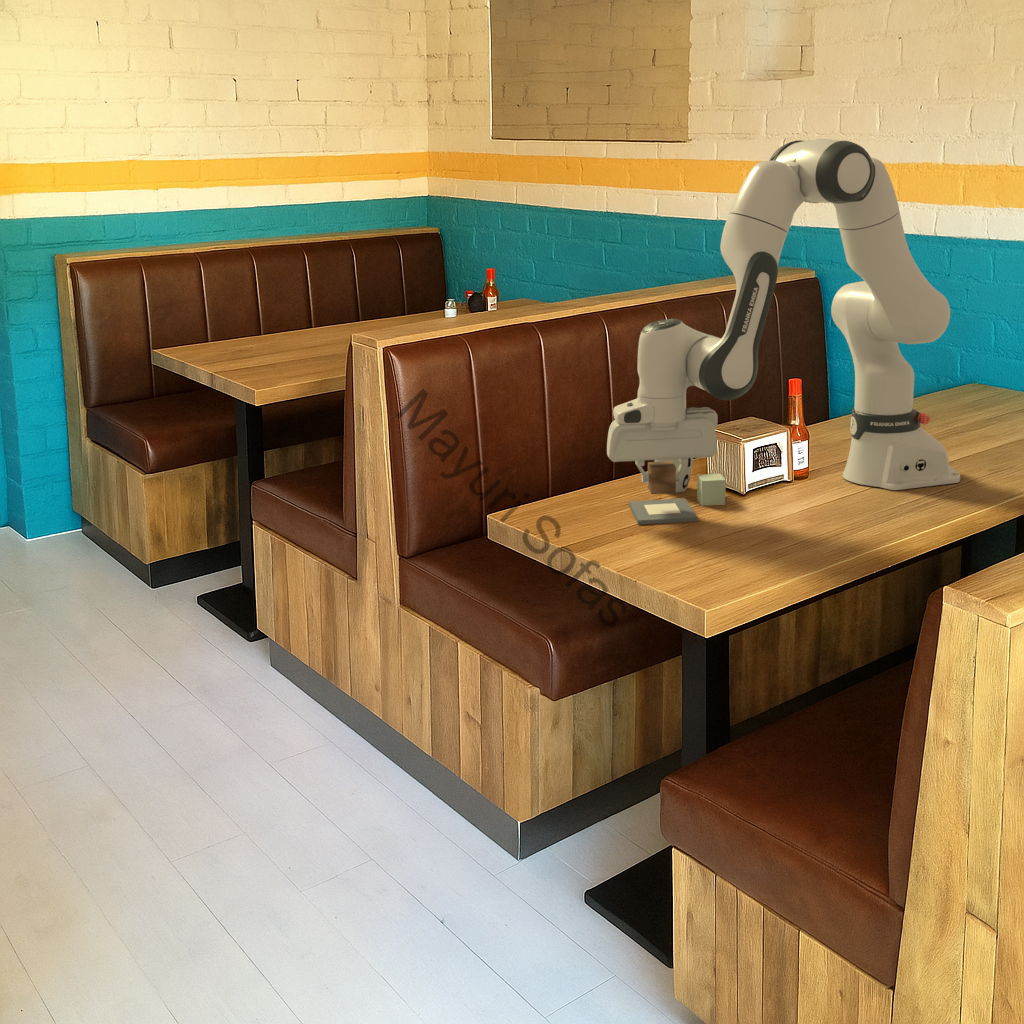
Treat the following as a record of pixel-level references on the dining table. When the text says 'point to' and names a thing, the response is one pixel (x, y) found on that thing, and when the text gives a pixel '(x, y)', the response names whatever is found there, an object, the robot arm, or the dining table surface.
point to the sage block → (711, 489)
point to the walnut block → (662, 477)
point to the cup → (686, 474)
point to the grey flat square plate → (662, 511)
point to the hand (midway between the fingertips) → (661, 481)
